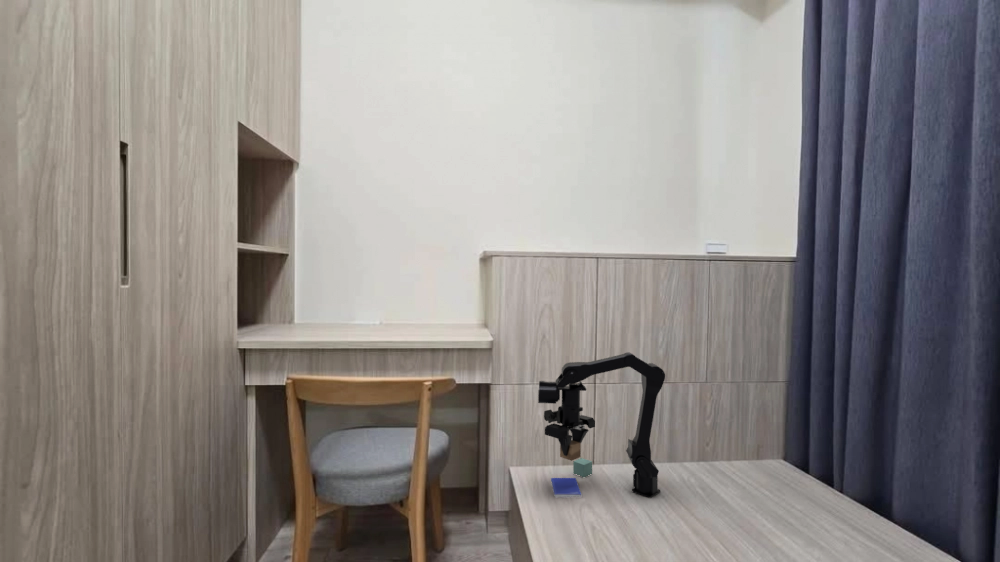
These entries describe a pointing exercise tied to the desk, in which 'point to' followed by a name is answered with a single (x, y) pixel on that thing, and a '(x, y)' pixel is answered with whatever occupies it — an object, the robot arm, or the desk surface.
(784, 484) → the desk surface
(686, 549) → the desk surface
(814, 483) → the desk surface
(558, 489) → the hard drive
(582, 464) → the teal cube
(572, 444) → the walnut cube
